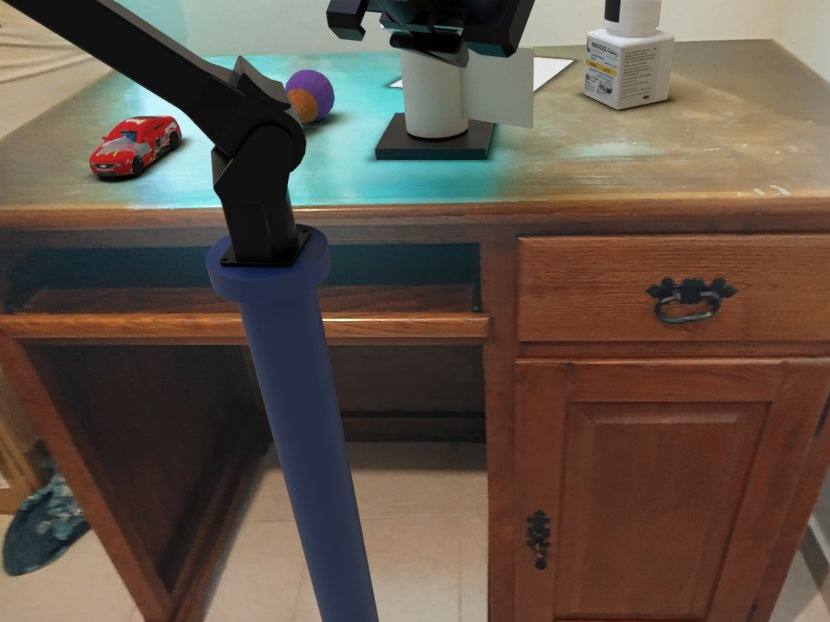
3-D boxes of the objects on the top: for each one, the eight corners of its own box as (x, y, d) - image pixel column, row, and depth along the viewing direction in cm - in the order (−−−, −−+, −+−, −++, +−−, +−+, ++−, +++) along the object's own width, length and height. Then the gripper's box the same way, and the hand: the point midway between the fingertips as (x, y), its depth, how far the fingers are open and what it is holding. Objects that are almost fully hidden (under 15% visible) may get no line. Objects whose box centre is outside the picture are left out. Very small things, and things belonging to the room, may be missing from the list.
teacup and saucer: (514, 63, 108) (514, 34, 105) (492, 78, 102) (491, 47, 100) (461, 58, 111) (460, 30, 109) (436, 72, 105) (435, 43, 103)
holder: (485, 159, 78) (485, 148, 77) (375, 159, 79) (374, 148, 78) (494, 121, 87) (494, 111, 87) (396, 122, 89) (395, 112, 88)
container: (582, 94, 94) (588, -16, 87) (632, 85, 97) (642, -24, 89) (616, 111, 89) (626, -6, 81) (668, 100, 91) (682, -15, 84)
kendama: (220, 136, 75) (286, 67, 90) (245, 187, 79) (304, 113, 94) (272, 126, 74) (330, 58, 88) (294, 179, 77) (347, 105, 92)
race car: (129, 184, 76) (117, 147, 74) (84, 182, 77) (70, 145, 75) (192, 139, 87) (183, 105, 84) (151, 137, 88) (141, 104, 85)
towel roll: (532, 143, 77) (534, 44, 71) (398, 143, 79) (389, 47, 73) (535, 116, 84) (536, 24, 78) (411, 117, 86) (404, 27, 80)
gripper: (526, -149, 52) (582, -8, 66) (326, -143, 60) (413, -19, 74) (474, -8, 51) (541, 105, 65) (278, -21, 60) (375, 81, 74)
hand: (464, 63), depth 70 cm, fingers closed
